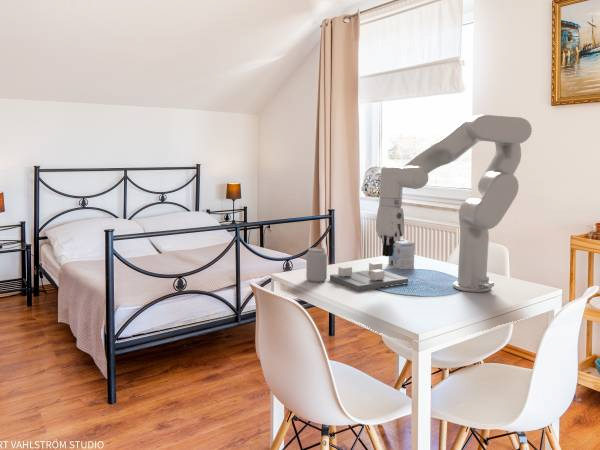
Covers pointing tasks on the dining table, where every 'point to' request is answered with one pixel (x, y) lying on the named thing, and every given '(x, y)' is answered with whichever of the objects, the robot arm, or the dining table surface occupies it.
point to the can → (316, 265)
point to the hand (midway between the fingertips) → (387, 255)
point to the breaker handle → (376, 274)
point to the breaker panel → (365, 278)
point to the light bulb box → (403, 254)
